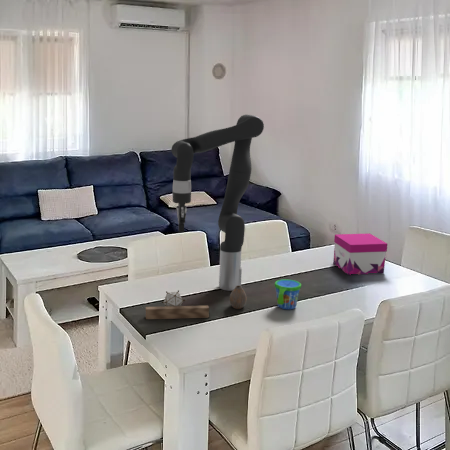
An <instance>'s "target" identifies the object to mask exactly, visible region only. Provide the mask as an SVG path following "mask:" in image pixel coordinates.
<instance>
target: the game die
mask: <svg viewBox="0 0 450 450" xmlns="http://www.w3.org/2000/svg"><path fill="white" fill-rule="evenodd" d="M165 292H166V296H165V297H164V300H163V301H161V303H162V304H163V305H164V306H183V303H184V302H186V299H183V297H182V296H181V294H180V290H179V289H178V290H177V291H171V292H168V291H165Z"/></svg>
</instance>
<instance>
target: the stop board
mask: <svg viewBox="0 0 450 450" xmlns="http://www.w3.org/2000/svg"><path fill="white" fill-rule="evenodd" d="M209 313H210V306H209V305H181V306H165V305H164V306H145V320H162V319H163V320H165V319H166V320H169V319H201V318H202V319H203V318H204V319H205V318H207V319H209V317H210V314H209Z"/></svg>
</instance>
